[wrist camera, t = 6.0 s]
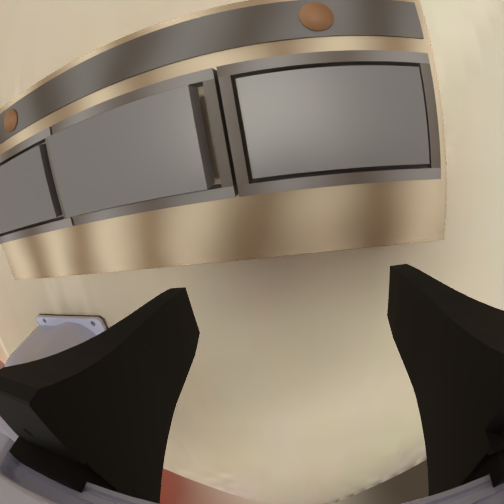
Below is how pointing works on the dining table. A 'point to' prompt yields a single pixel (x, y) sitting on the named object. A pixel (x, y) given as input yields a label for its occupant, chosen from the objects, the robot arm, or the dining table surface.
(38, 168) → the key
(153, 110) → the key middle
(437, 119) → the switch unit
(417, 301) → the robot arm
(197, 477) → the dining table surface
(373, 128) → the key
